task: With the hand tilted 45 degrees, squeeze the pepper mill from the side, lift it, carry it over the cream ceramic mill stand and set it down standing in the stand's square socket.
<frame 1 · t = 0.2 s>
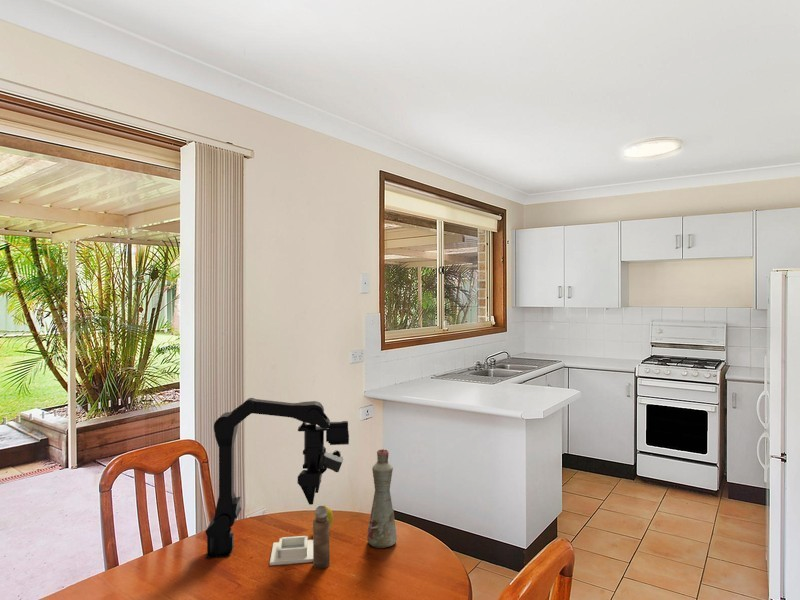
hand: (313, 498, 153), 14 cm above the table, tool pointing down, fingers open, 9 cm apart
mill stand: (293, 553, 149), on the table
bottle: (382, 543, 155), on the table
pepper mill: (321, 564, 143), on the table
lemon: (324, 532, 164), on the table
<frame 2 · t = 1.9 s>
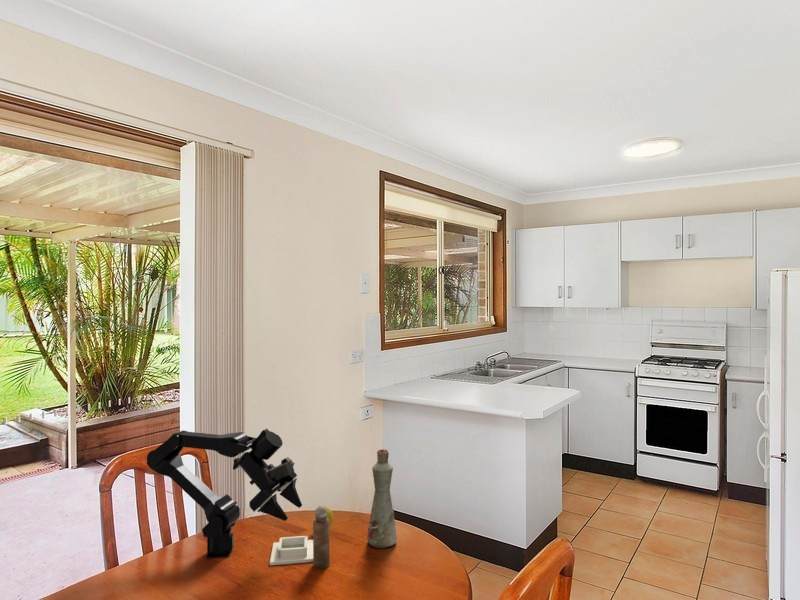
hand: (293, 513, 145), 13 cm above the table, tool tilted 45°, fingers open, 9 cm apart
nothing on the table moved.
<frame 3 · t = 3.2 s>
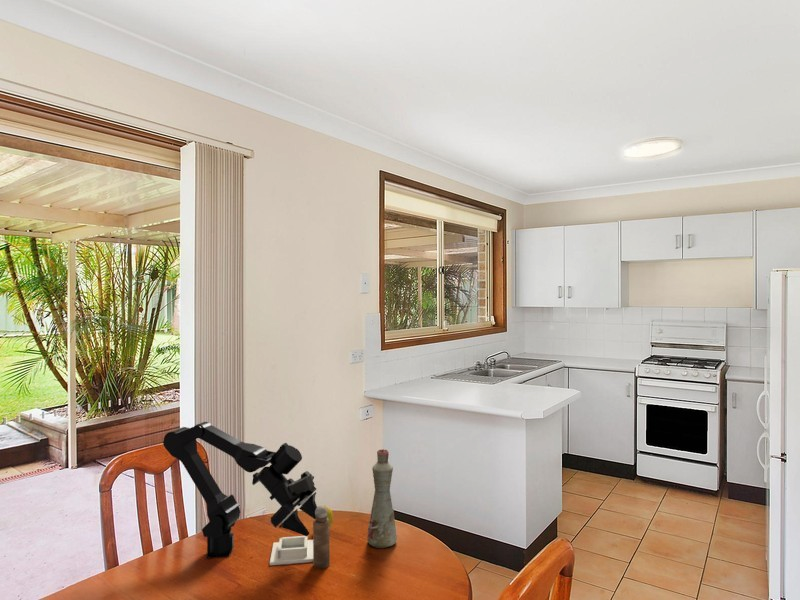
hand: (314, 527, 143), 10 cm above the table, tool tilted 45°, fingers open, 9 cm apart
nothing on the table moved.
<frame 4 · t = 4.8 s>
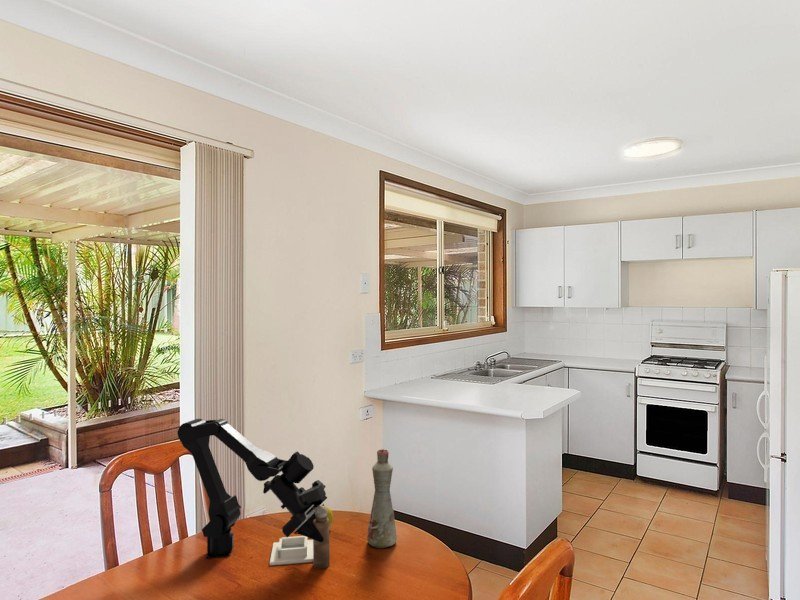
hand: (326, 537, 142), 8 cm above the table, tool tilted 45°, fingers closed on pepper mill, 4 cm apart
pepper mill: (321, 564, 143), on the table, touching gripper
everything else where it was.
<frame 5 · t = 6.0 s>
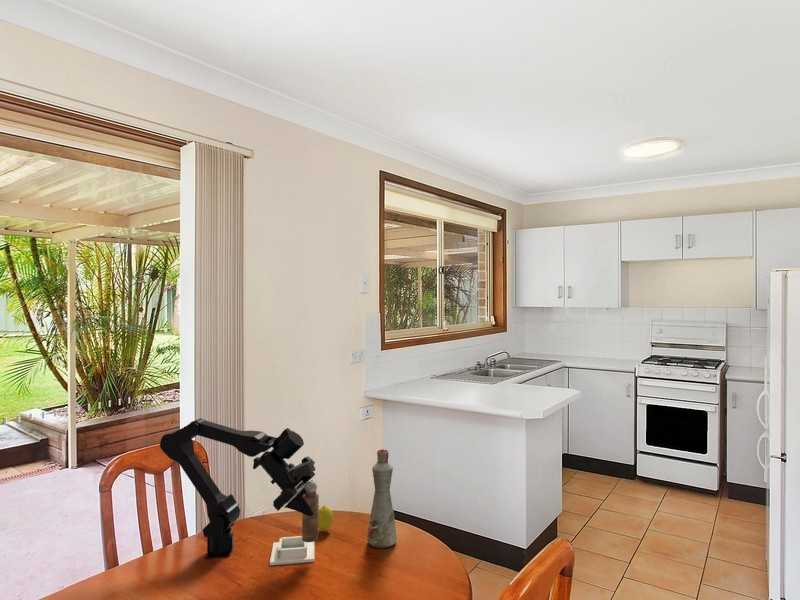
hand: (315, 511, 145), 13 cm above the table, tool tilted 45°, fingers closed on pepper mill, 4 cm apart
pepper mill: (310, 538, 145), point 6 cm above the table, touching gripper
everything else where it was.
when the fingers open (9 cm above the table, at t = 7.7 s): pepper mill stays where it is, resting on mill stand.
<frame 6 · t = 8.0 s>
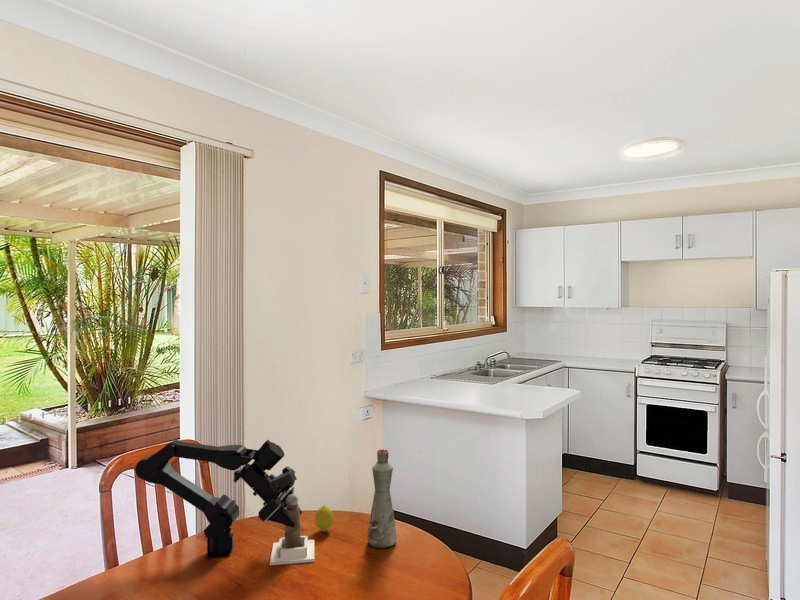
hand: (297, 519, 149), 10 cm above the table, tool tilted 45°, fingers open, 8 cm apart
pepper mill: (292, 549, 149), point 1 cm above the table, touching mill stand
everything else where it was.
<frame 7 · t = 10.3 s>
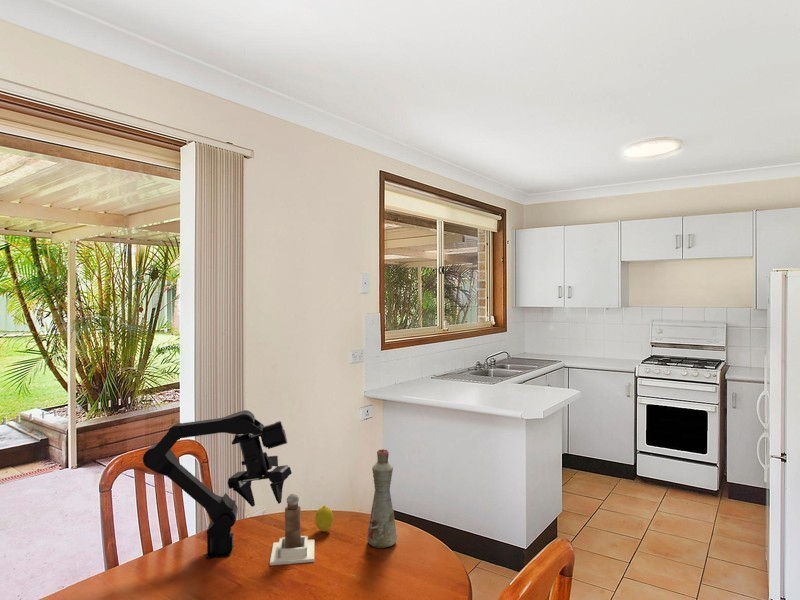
hand: (266, 504, 153), 13 cm above the table, tool pointing down, fingers open, 9 cm apart
nothing on the table moved.
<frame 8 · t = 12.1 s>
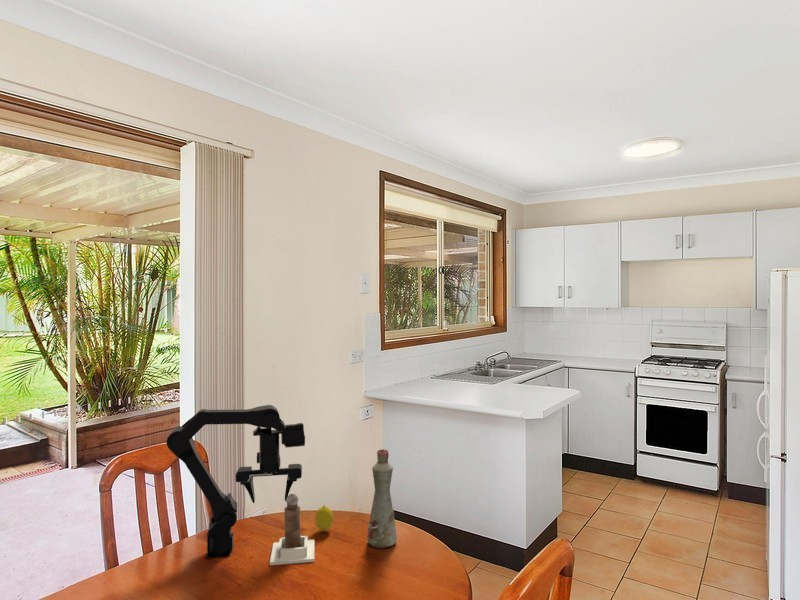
hand: (269, 501, 154), 13 cm above the table, tool pointing down, fingers open, 9 cm apart
nothing on the table moved.
at the end: pepper mill 0.1 cm off-centre on the mill stand, point 0.9 cm above the mill stand's base; pepper mill tilted 0°; the gripper is holding nothing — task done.
